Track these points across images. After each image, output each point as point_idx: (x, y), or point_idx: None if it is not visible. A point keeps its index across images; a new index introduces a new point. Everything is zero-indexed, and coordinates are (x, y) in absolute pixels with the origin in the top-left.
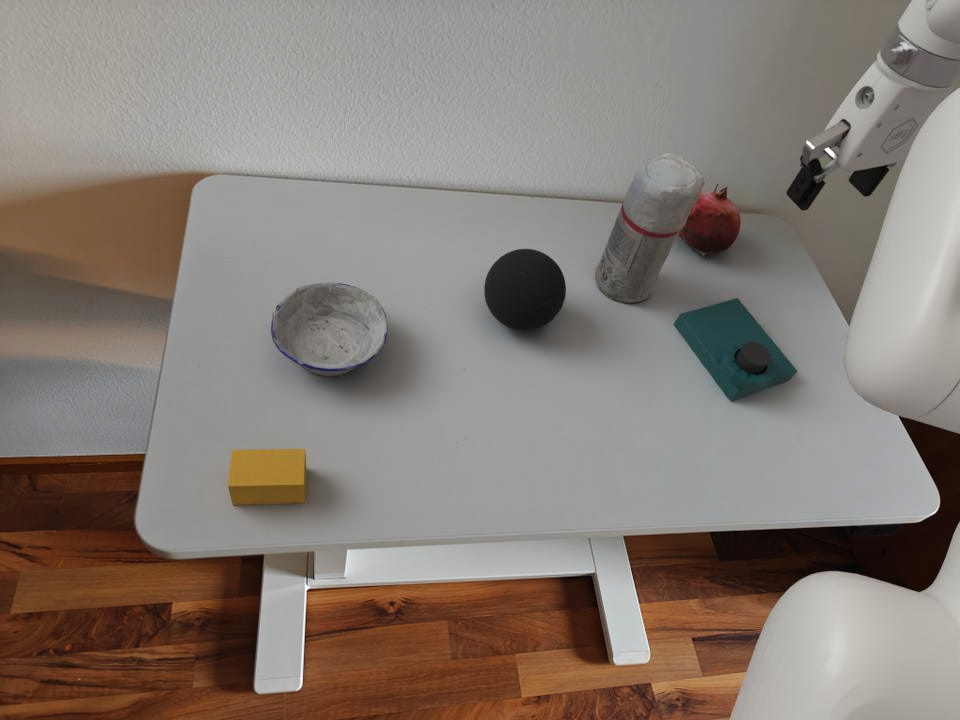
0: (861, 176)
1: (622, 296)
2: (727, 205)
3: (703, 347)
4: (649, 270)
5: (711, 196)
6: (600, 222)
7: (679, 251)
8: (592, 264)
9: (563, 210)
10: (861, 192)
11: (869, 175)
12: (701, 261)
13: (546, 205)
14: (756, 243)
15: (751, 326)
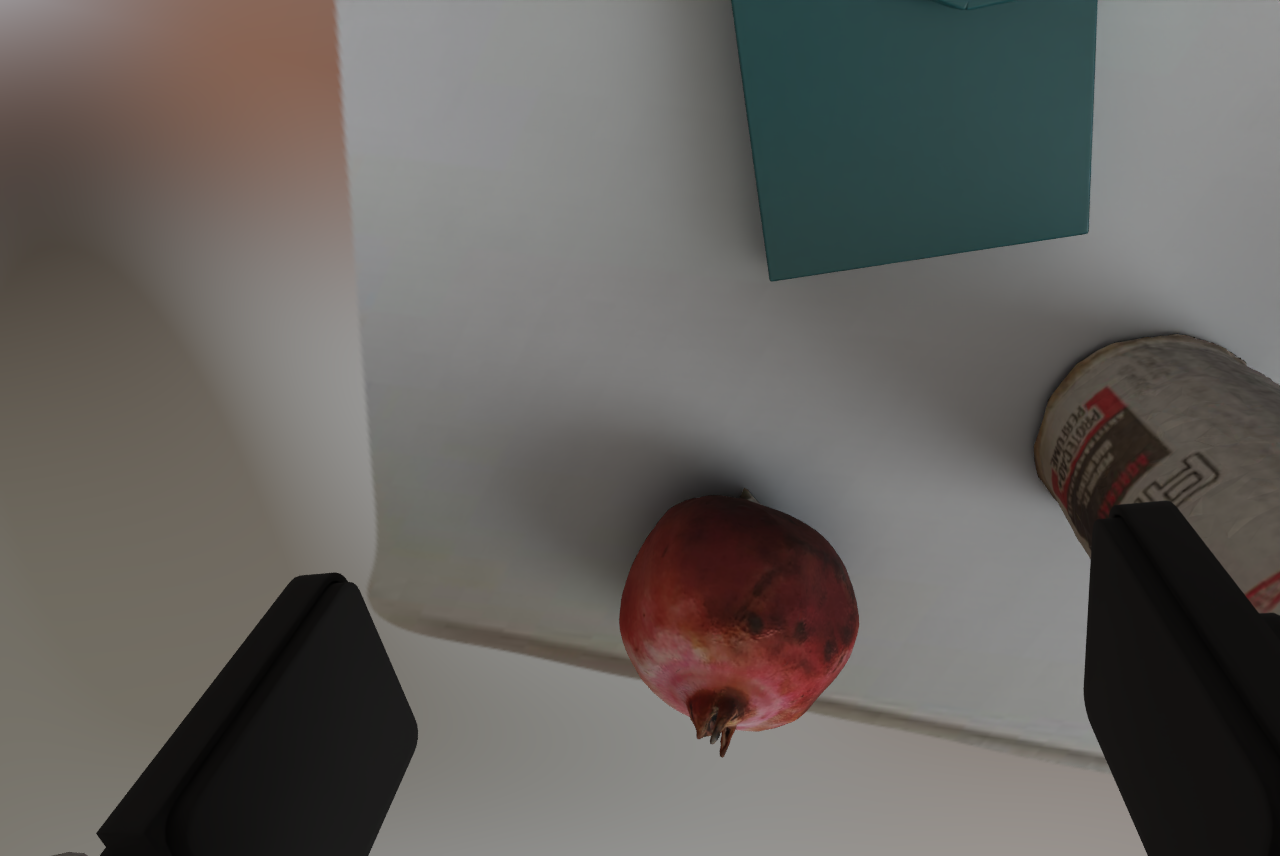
0: (349, 764)
1: (1236, 361)
2: (711, 664)
3: (1094, 37)
4: (1275, 417)
5: (758, 709)
6: (1044, 666)
7: (825, 525)
8: None
9: None
10: (365, 616)
11: (301, 773)
12: (765, 476)
13: None
14: (514, 519)
15: (793, 126)
